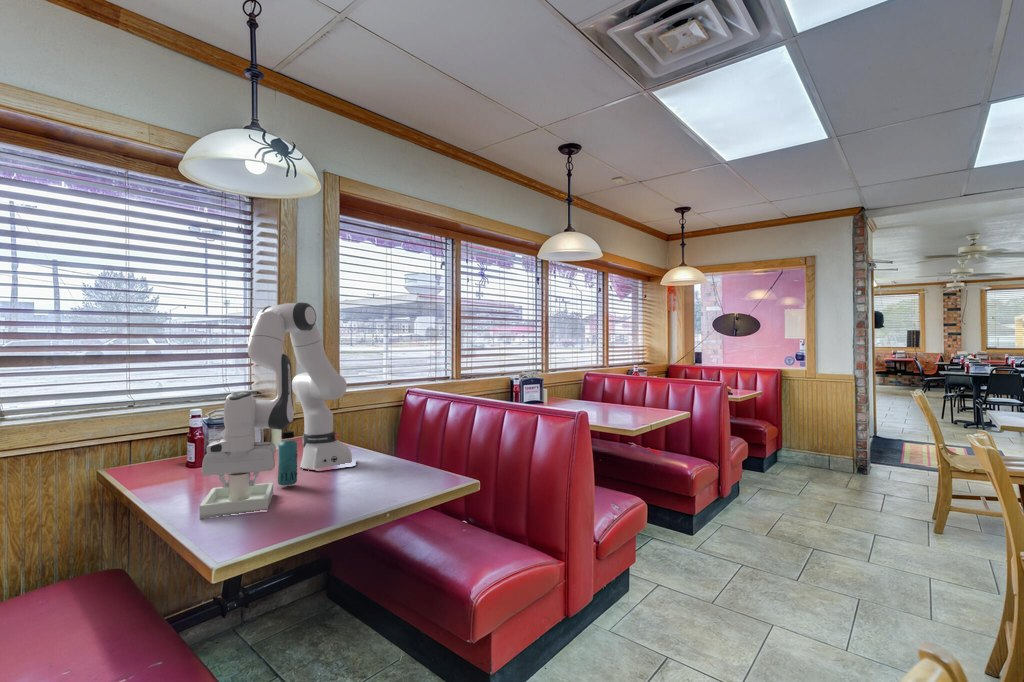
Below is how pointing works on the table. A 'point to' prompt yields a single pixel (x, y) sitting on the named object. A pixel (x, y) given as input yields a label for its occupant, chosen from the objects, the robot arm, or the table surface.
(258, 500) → the tray
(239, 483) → the cup
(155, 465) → the table surface
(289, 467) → the beverage bottle
